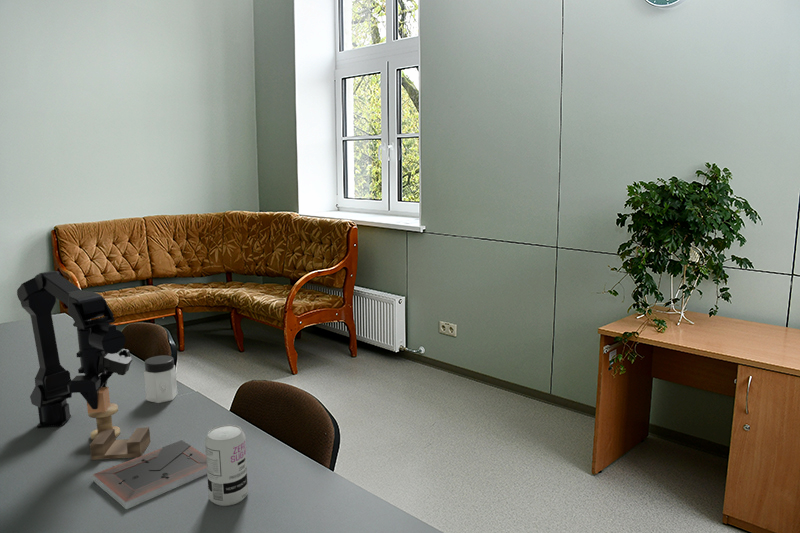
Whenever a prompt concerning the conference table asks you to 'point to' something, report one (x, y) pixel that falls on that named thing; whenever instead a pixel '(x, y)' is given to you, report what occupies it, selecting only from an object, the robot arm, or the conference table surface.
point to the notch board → (119, 444)
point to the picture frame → (152, 474)
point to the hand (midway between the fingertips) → (98, 405)
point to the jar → (160, 379)
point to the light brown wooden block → (101, 401)
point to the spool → (104, 421)
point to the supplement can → (226, 465)
